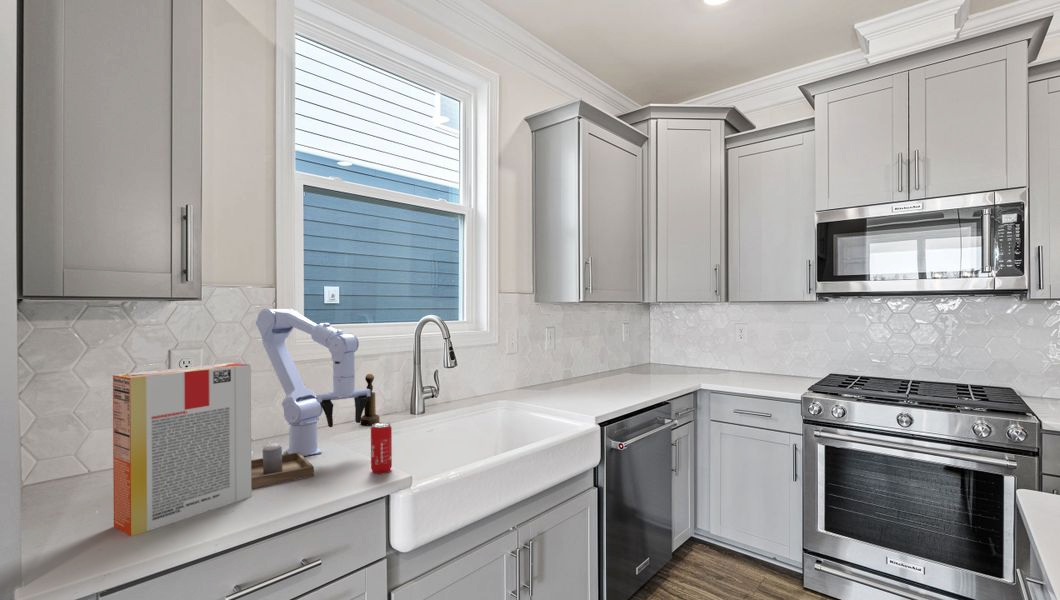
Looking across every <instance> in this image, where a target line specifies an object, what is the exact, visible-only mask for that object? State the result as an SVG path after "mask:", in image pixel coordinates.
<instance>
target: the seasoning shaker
mask: <svg viewBox="0 0 1060 600" xmlns="http://www.w3.org/2000/svg"><path fill="white" fill-rule="evenodd" d="M262 448H263V449H262V458H263V474H264V475H267V474H272V473H277V472H282V471H283V468H282V455H283V448H282V445H281V442H270V443H266V444H264V445H263V446H262Z"/></svg>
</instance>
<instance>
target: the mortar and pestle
mask: <svg viewBox="0 0 1060 600" xmlns="http://www.w3.org/2000/svg"><path fill="white" fill-rule="evenodd" d="M364 379H365V381H366V383H367V386H366V389H370V396H368V397H367V398H368V402H367V403H366V405H365V407H364V410H363V412H364V415H363V414H362V416H361V420H360V425H361V426H365V425H366V426H372V424H377V423H381V422H380V416H379V414H377V413H376V392H374V391H373V388H374V386H373V381H374V379H375V376H374V375H373V374H372V373H368V374H365V377H364Z"/></svg>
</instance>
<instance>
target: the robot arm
mask: <svg viewBox="0 0 1060 600" xmlns="http://www.w3.org/2000/svg"><path fill="white" fill-rule="evenodd" d="M255 324H256V327H257V329H258V331H259V334H260V336H261V339H262V345H263V347H264V350H265V352H266V354H267V356H268V358H269V360H270V363H271V365H272V367H273V369H274V372H275V374H276V375H277V378H278V380H279V382H280V385H281V386H282V388H283V391H284V393H285V395H286V396H285V398H284V399H283V401H282V402H281V405H282V408H283V415H284V419H285V420H286V422H287V423H288V425H289V426H290V427H289V429H288V433H289V434H288V436H289V437H288V443H289V444H288V446H289V448H286V449H285V452H286V453H287V454H291V453H297V452H299V453H300V454H301V455H302V456H303V457H307V456H312V455H318V454H321V453H322V452H323V451H322V450H321V449H320V448H319V447H318V421H319V420H320V416H321V415H322V414H323V413H324V415H325V418H326V421H327V426H328V427H329V428H333V425H334V419H333V417H334V416H333V414H334V413H333V412H334V403H333V401H338V400H339V401H340V400H347V399H353V400H354V407H355V409H354V410H355V414H354V417H355V418H354V420H355V423H357V424H361V417H362V416H363V412H364V407H365V405H366V403H367V402H368V398H367V397H368V396H370V389H367V388H362V389H355V388H356V387H355V385H356V384H355V383H356V382H355V381H356V380H355V378H356V377H355V373H356V372H355V371H356V370H355V353H356V351H358V350H359V346H360V345H359V339H358V337H357V336H356V335H355V334H354V333H351V332H349V333H348V332H347V333H344V331H343V330H342V329H336V328H334V327H333V326H331V323H329V322H321V323H318V324H317V323H316V322H314V321H312V320H310V319H309V318H307V317H305V316H304V315H302V314H301V313H299V311H298V310H294V309H293V308H289V307H288V308H263V309H261V310H260V311H259V312H258V315H257V318H256V321H255ZM294 328H295V329H298V330H300V331H302V332H303V333H306V334H308V335H311V340H312V341H314V342H316V343H318V344H320V345H321V346H323V347H326V348H328V351H329V353H330V354H331V360H332V372H333V373H332V381H333V383H332V386H333V387H332V389H333V391H330V392H324V393H317V394H316V393H315V391H314V390H311V389H309V388H307V387H306V386H305V384H304V382H303V379H302V377H301V375H300V373H299V370H298V368H297V366H296V364H295V362H294V360H293V358H292V356H291V353H290V351H289V349H288V347H287V345H286V343H285V341H286V339H287V338H289V336H290V334H291V332H292V331H293V329H294Z"/></svg>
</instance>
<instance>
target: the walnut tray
mask: <svg viewBox="0 0 1060 600" xmlns="http://www.w3.org/2000/svg"><path fill="white" fill-rule="evenodd" d="M282 468H283V471H282V472H277V473H272V474H267V475H264V474H263V457H262V458H258V459H257V458H256V459H251V490H253V489H256V488H261V487H266V486H272V485H275V484H281V483H286V481H287V482H291V480H292V481H296V479H297V480H302V479H305V478H311V476H312V477H314V476H315V475H314V474H315V473H314V472H315V468H314V465H313V464H312V463H311V462H310V461H309V460H308V459H307V458H305V456H302V455H301V454H300V453H299V452H297V453H291V454H288V453H287V454H285V453H284V454H282Z"/></svg>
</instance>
